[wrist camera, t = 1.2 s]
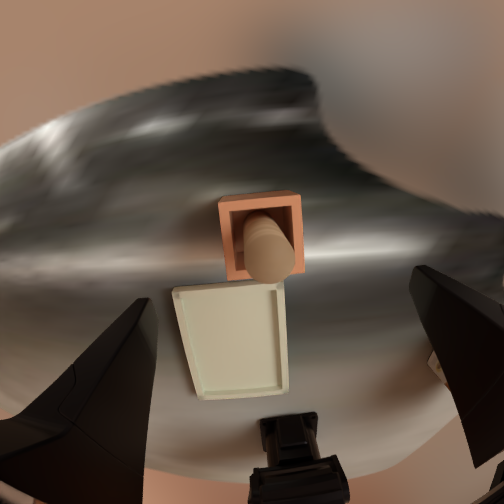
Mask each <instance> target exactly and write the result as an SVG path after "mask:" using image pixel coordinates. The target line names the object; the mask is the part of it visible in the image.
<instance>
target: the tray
mask: <svg viewBox="0 0 504 504" xmlns="http://www.w3.org/2000/svg"><path fill="white" fill-rule="evenodd" d="M172 296H173V301H174V306H175V310H176V315H177V319H178V324H179V328H180V332H181V336H182V341H183V345H184V349H185V353H186V356H187V360H188V364H189V368H190V372H191V375H192V379H193V382H194V386H195V389H196V393H197V396H198V400H215V399H234V398H247V397H259V396H269V395H277V394H285V393H289V380H288V355H287V334H286V314H285V297H284V282H283V280H282V281H281V282H278V283H275V284H264V283H260V282H258V281H256V280H244V281H234V282H223V283H213V284H202V285H190V286H179V287H174V289H173V291H172Z"/></svg>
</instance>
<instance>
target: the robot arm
mask: <svg viewBox="0 0 504 504" xmlns="http://www.w3.org/2000/svg"><path fill="white" fill-rule="evenodd" d="M409 291H410V294H411V296H412V299H413V301H414V304H415V307H416V309H417V312H418V315H419V317H420V320H421V323H422V325H423V328H424V330H425V332H426V334H427V336H428V338H429V341H430V343H431V345H432V347H433V350H434V352H435V354H436V356H437V359H438V361H439V363H440V366H441V368H442V371H443V373H444V376H445V378H446V381H447V383H448V386H449V388H450V391H451V394H452V396H453V399H454V402H455V405H456V408H457V410H458V413H459V416H460V419H461V423H462V426H463V429H464V432H465V435H466V439H467V442H468V445H469V449H470V453H471V456H472V460H473V464H474V467H475V469H476V468H478V467H479V466H481V465H482V464H484V463H485V462H487V461H488V460H490V459H491V458H493V457H494V456H496V455H497V454H498V453H500V452H501V451H503V450H504V305H502V304H499V303H498V302H497V301H495V300H493V299H491V298H489V297H487V296H486V295H484V294H482V293H480V292H478V291H476V290H474V289H472V288H470V287H468V286H467V285H465V284H463V283H461V282H459V281H457V280H455V279H453V278H451V277H449V276H447V275H445V274H443V273H441V272H439V271H437V270H435V269H433V268H431V267H429V266H426V265H418V266H415V267H414V269H413V272H412V276H411V279H410V283H409ZM157 338H158V316H157V313H156V311H155V308H154V306H153V303H152V300H151V299H150V298H138V299H137V300H136V301H135V302H134V303H133V304H132V305H130V306H129V307H128V308H127V309H126V310H125V311H124V312H123V313H122V314H121V315H120V316H119V317H118V318H117V319H116V320H115V321H114V322H113V323H112V324H111V325H110V326H109V327H108V328H107V329H106V330H105V331H104V332H103V333H102V334H101V335H100V336H99V337H98V338H97V339H96V340H95V341H94V342H93V343H92V344H91V345H90V346H89V347H88V348H87V349H86V350H85V351H84V352H83V353H82V354H81V355H80V356H79V357H78V358H77V359H76V360H75V361H74V362H73V364H71V365H70V366H69V367H68V369H67V370H66V371H65V372H64V373H63V374H62V375H61V376H60V377H59V378H58V379H57V380H56V381H55V382H54V383H53V384H51V385H50V386H49V387H48V388H47V389H46V390H45V391H44V392H43V393H42V394H41V395H39V396H38V397H37V398H36V399H35V400H34V401H33V402H32V403H31V404H29V405H28V406H27V407H26V408H25V409H24V410H23V411H22V412H20V413H19V414H18V415H16V416H14V417H12V418H9V419H5V420H0V504H142V499H143V498H142V497H143V476H144V463H145V451H146V440H147V430H148V421H149V413H150V405H151V397H152V389H153V382H154V375H155V369H156V359H157ZM317 421H318V416H317V413H315V412H313V413H306V414H300V415H293V416H286V417H277V418H268V419H262V420H260V429H261V436H262V443H263V450H264V451H265V452H267V462H268V467H266V468H254V469H253V474H252V475H251V476H250V491H249V496H248V504H345V503H349V501H350V492H349V486H348V482H347V478H346V476H345V474H344V471H343V469H342V467H341V465H340V462H339V460H338V458H337V456H336V454H335V455H331V456H330V457H326V458H321V457H320V453H319V449H318V446H317V442H316V434H317ZM471 504H504V460H503V461H502V462H501V463H499V464H498V466H497V469H496V473H495V475H494V478H493V481H492V484H491V487H490V490H489V492H488V493H486V494H485V495H483V496H482V497H481V498H479V499H477V500H476V501H474V502H473V503H471Z"/></svg>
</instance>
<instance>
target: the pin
mask: <svg viewBox="0 0 504 504" xmlns="http://www.w3.org/2000/svg"><path fill="white" fill-rule="evenodd" d="M243 233H244V263H245V268H246V270H247V272H248V274H249V275H250V276H251V277H252V278H253V279H254V280H256V281H258V282H260V283H264V284H275V283H278V282H281V281H282V280H284V279H285V278H287V277H288V276H289V275H290V273H291V272H292V270H293V268H294V265H295V253H294V250H293V248H292V246H291V245H290V243H289V242H288V240H287V239H286V237H285V236H284V234H283V233H282V231H281V230H280V228H279V227H278V225H277V224H276V222H275V221H274V219H273V218H272V216H271V215H270V214H269V213H267V212H265V211H262V210H256V211H253V212H251V213H249V214H248V215H247V216H246V218H245V220H244V223H243Z"/></svg>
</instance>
